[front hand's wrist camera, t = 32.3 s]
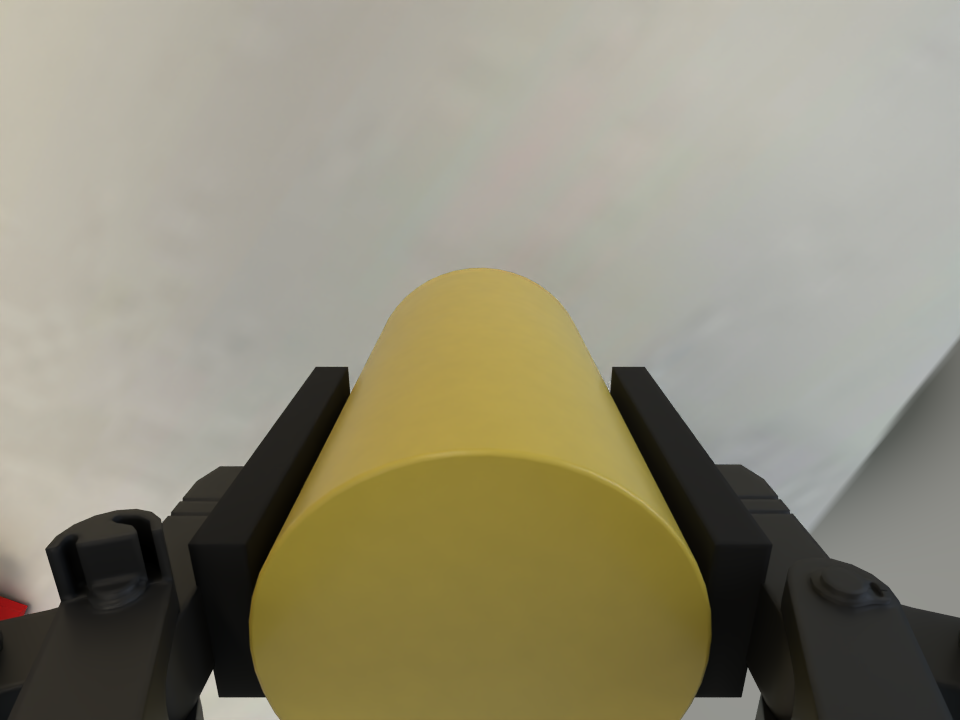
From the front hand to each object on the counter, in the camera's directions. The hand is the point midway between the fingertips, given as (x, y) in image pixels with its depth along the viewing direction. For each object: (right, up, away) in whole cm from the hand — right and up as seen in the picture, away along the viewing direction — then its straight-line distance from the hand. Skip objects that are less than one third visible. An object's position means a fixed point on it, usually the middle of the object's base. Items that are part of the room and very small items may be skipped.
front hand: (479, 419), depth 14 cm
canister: (0, +1, +3) cm, 4 cm away
